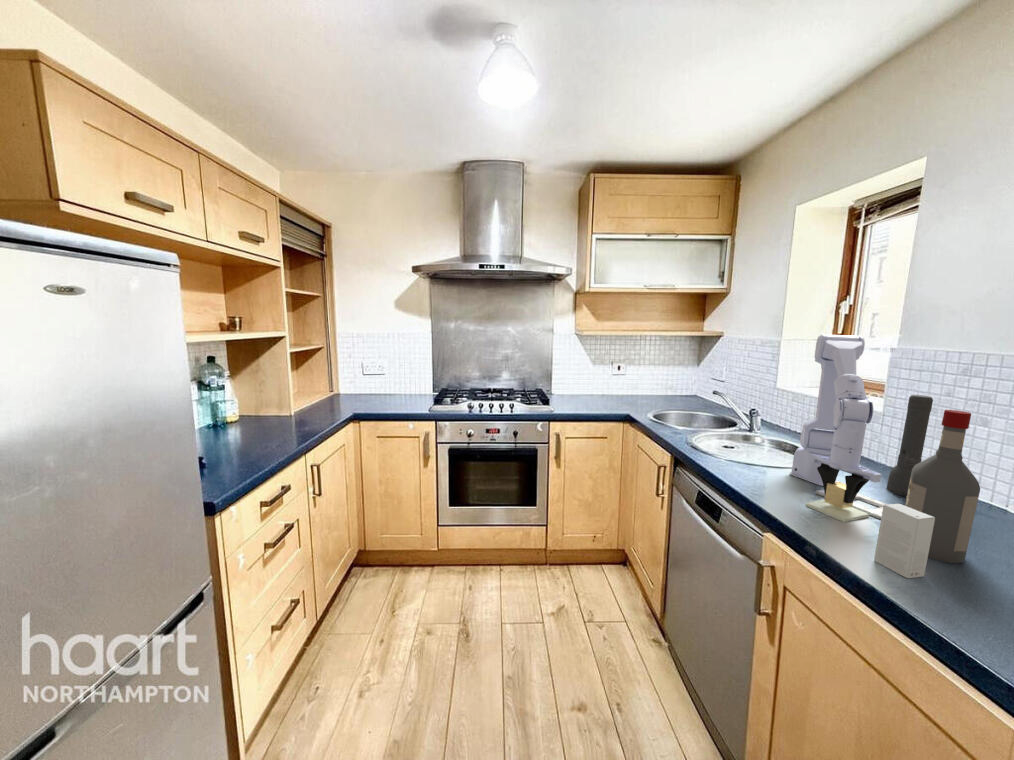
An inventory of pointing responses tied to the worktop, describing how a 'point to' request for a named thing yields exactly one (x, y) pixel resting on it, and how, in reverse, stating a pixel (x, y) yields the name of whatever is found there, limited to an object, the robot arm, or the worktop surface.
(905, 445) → the flashlight
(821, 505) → the tile
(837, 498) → the light wood cube
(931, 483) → the liquor
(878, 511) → the rail plate
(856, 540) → the worktop surface
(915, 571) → the skincare box
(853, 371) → the robot arm
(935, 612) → the worktop surface
